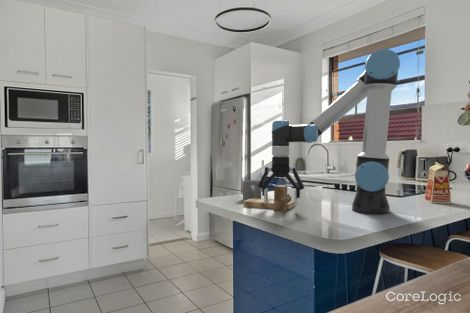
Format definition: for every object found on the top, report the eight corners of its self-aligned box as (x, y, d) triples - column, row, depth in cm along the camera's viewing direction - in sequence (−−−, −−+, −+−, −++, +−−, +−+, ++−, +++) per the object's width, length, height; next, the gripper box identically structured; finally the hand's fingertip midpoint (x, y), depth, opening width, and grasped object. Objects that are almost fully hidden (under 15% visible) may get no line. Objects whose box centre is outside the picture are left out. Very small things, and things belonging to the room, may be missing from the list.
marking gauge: (293, 205, 153) (293, 182, 153) (284, 212, 139) (284, 186, 138) (284, 205, 155) (284, 182, 155) (274, 211, 140) (274, 186, 140)
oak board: (294, 206, 152) (294, 200, 152) (289, 210, 143) (289, 204, 143) (251, 203, 161) (251, 197, 161) (243, 206, 152) (243, 201, 152)
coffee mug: (244, 198, 177) (244, 180, 177) (262, 198, 175) (262, 180, 175) (240, 202, 164) (239, 182, 164) (259, 202, 162) (259, 182, 162)
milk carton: (423, 200, 166) (424, 161, 165) (443, 200, 165) (443, 161, 164) (432, 203, 157) (432, 162, 156) (452, 203, 156) (453, 162, 155)
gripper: (311, 156, 139) (311, 204, 140) (256, 155, 150) (257, 201, 150) (307, 156, 132) (307, 207, 133) (250, 156, 143) (251, 203, 143)
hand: (280, 204), depth 142 cm, fingers open, 13 cm apart
